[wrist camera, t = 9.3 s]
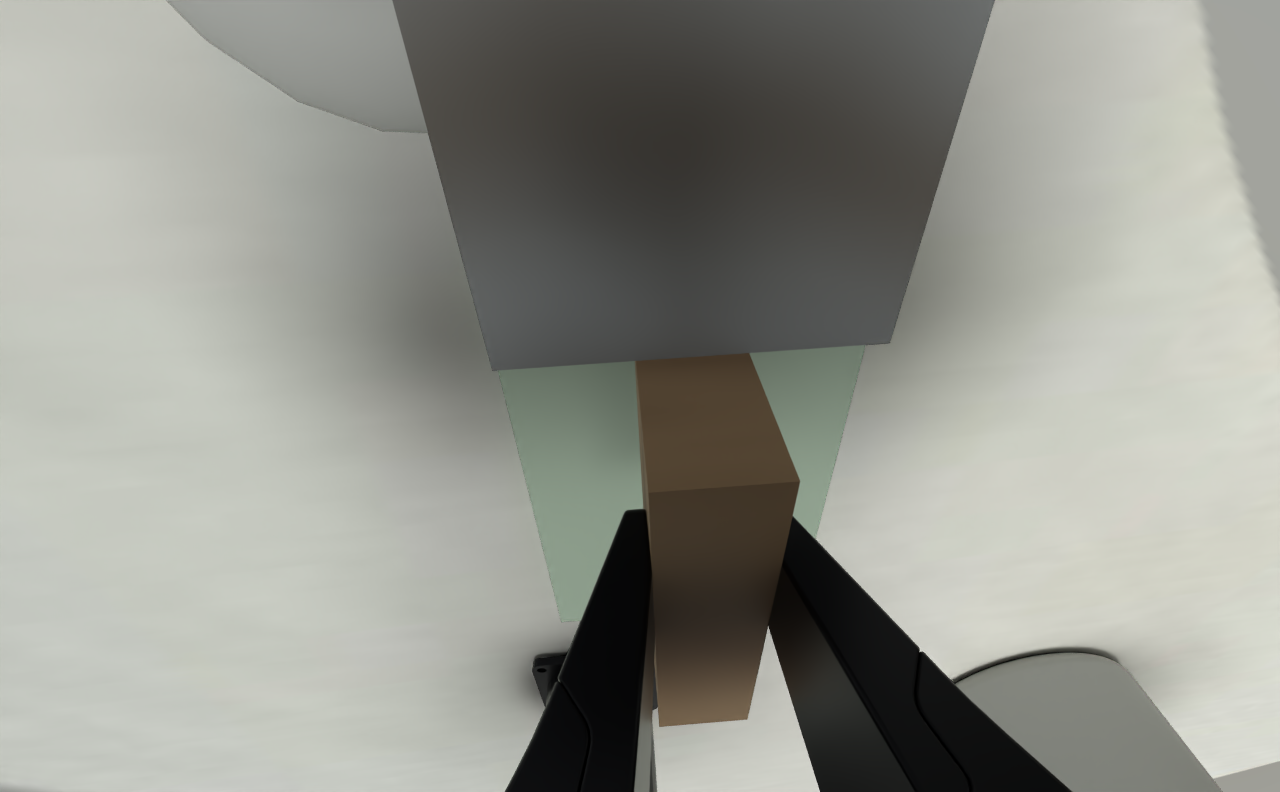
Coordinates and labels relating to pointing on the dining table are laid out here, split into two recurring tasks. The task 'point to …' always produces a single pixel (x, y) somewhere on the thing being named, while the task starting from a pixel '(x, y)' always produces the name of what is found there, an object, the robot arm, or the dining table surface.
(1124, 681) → the cylinder vase
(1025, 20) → the dining table surface
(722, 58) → the spatula
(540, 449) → the mat
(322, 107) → the donut
